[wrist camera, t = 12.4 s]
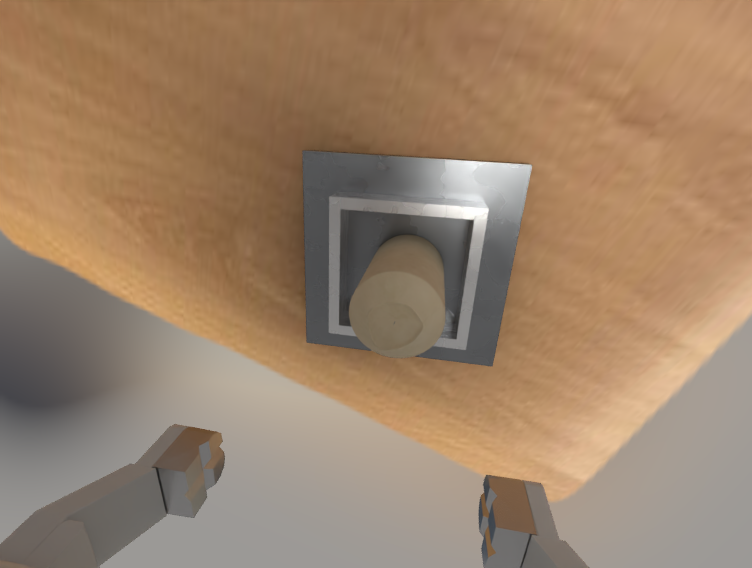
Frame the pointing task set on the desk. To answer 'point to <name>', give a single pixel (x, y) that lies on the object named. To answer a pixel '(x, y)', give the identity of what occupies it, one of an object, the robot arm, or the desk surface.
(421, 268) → the candle
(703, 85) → the desk surface
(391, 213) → the candle stand
